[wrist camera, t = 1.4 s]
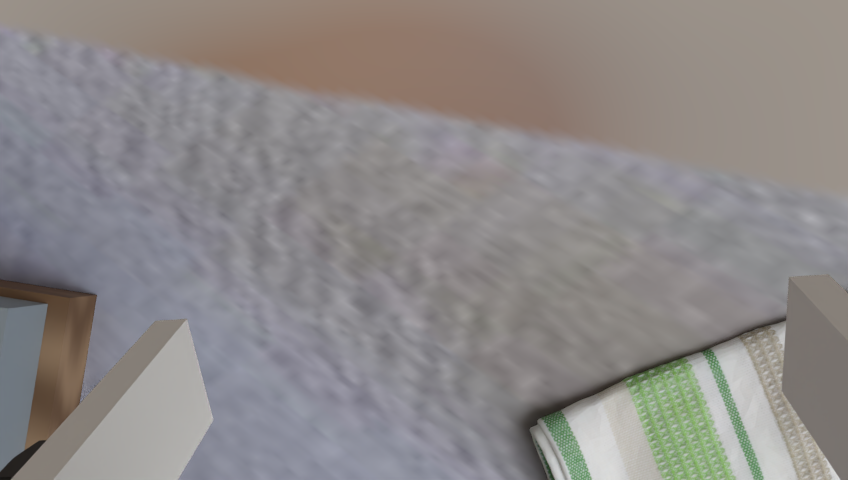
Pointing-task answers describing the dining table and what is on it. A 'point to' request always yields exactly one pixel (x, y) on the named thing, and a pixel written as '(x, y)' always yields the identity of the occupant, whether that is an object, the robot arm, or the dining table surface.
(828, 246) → the dining table surface
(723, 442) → the dish towel
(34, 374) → the tower top block
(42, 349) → the tower base block
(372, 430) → the dining table surface
